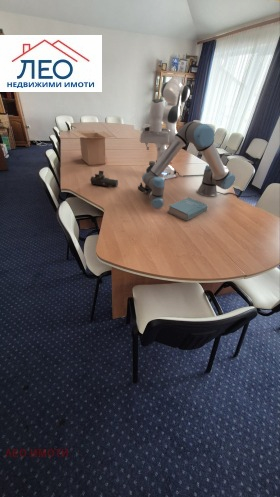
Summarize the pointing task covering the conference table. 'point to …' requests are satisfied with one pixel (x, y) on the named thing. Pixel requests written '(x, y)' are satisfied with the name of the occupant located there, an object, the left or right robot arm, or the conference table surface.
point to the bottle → (148, 172)
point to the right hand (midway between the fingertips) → (149, 184)
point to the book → (187, 208)
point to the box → (92, 146)
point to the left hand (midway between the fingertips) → (153, 149)
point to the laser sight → (103, 180)
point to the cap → (152, 163)
